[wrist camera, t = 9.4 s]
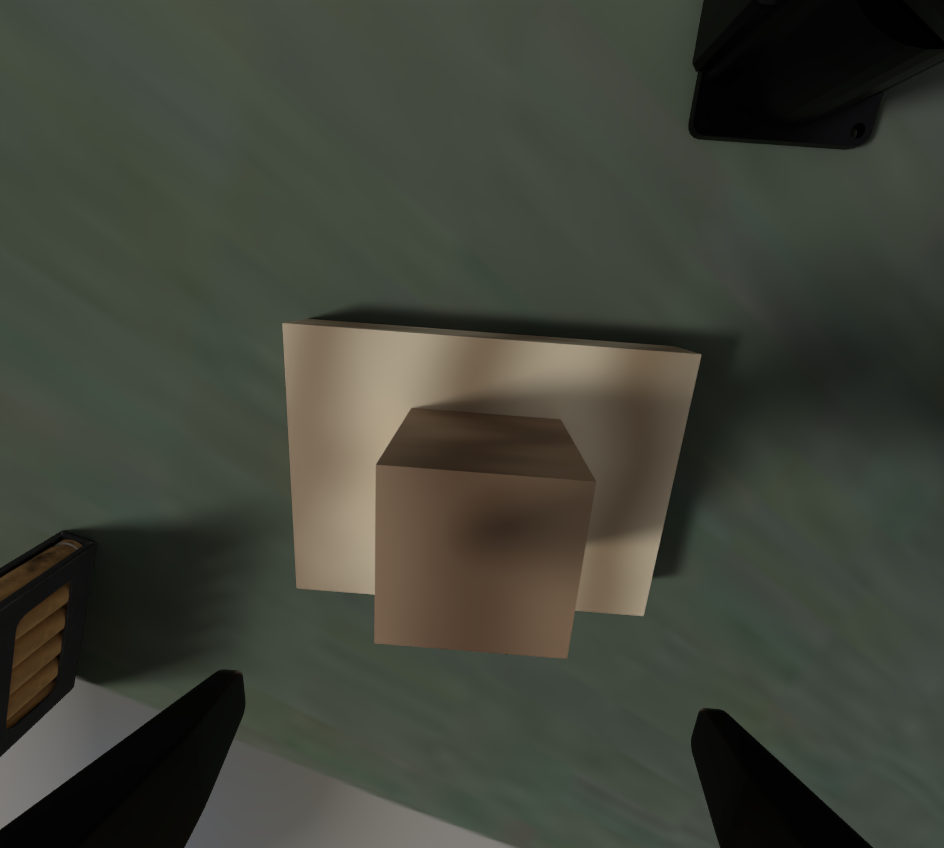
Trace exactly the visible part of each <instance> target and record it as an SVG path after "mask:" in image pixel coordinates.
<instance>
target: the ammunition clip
mask: <svg viewBox="0 0 944 848" xmlns="http://www.w3.org/2000/svg"><path fill="white" fill-rule="evenodd" d="M96 546H97V543H94V542H92V541H89V540H86V539H83V538H80V537H77V536H74V535H71V534H68V533H66V532H63V531H61V532H59V533H57V534H56V535H54V536H52V537H51V538H49V539H47V540H46V541H44V542H43V543H41V544H39V545H38V546H36V547H34V548H33V549H31V550H29V551H28V552H26V553H24V554H23V555H21V556H19V557H18V558H16V559H14V560H13V561H11V562H9V563H8V564H6V565H5V566H3V567H1V568H0V757H1V756H2V755H3V754H4V753H5V752H6V751H7V750H8V749H9V748H10V747H11V746H12V745H13V744H14V743H16V742H17V741H18V740H19V739H20V738H21V737H22V736H23V735H24V734H25V733H26V732H27V731H28V730H29V729H30V728H31V727H32V726H33V725H35V723H37V722H38V721H39V720H40V719H41V718H42V717H43V716H44V715H45V714H46V713H47V712H48V711H49V710H51V709H52V708H53V706H54V705H56V704H57V703H58V702H59V701H60V700H61V699H62V698H63V697H64V696H65V695H66V694H67V693H69V692H70V691H71V690H72V688H73V687H74V683H75V676H76V669H77V663H78V657H79V651H80V645H81V638H82V632H83V626H84V620H85V614H86V608H87V601H88V595H89V589H90V583H91V577H92V570H93V564H94V558H95V552H96Z"/></svg>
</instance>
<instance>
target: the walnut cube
mask: <svg viewBox="0 0 944 848" xmlns="http://www.w3.org/2000/svg"><path fill="white" fill-rule="evenodd" d="M595 487H596V480H595V478H594V477H593V475H592V473H591V471H590V470H589V468H588V466H587V464H586V463H585V461H584V459H583V457H582V456H581V454H580V452H579V450H578V449H577V447H576V445H575V443H574V442H573V440H572V438H571V436H570V435H569V433H568V431H567V429H566V428H565V426H564V424H563V422H562V421H561V419H550V418H537V417H524V416H511V415H497V414H484V413H471V412H458V411H445V410H432V409H418V408H411V409H410V411H409V412H408V414H407V416H406V417H405V419H404V420H403V422H402V424H401V425H400V427H399V428H398V430H397V432H396V433H395V435H394V436H393V438H392V440H391V441H390V443H389V444H388V446H387V448H386V449H385V451H384V452H383V454H382V456H381V457H380V459H379V460H378V462H377V463H376V500H375V640H374V643H378V644H390V645H403V646H415V647H427V648H440V649H452V650H465V651H477V652H489V653H502V654H514V655H526V656H539V657H551V658H564V659H567V655H568V649H569V643H570V637H571V631H572V625H573V619H574V613H575V607H576V601H577V595H578V589H579V583H580V577H581V571H582V565H583V559H584V553H585V547H586V541H587V535H588V529H589V523H590V517H591V511H592V505H593V499H594V493H595Z"/></svg>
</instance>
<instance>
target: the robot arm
mask: <svg viewBox="0 0 944 848" xmlns="http://www.w3.org/2000/svg"><path fill="white" fill-rule="evenodd" d="M942 62H944V0H704V2H703V7H702V13H701V18H700V24H699V29H698V35H697V40H696V46H695V51H694V57H693V66H694V68H695V70H696V72H698V75H697V80H696V86H695V91H694V97H693V102H692V107H691V113H690V118H689V132H690V134H691V135H692V136H693V137H694V138H697V139H703V140H717V141H731V142H745V143H760V144H774V145H788V146H802V147H816V148H830V149H845V150H846V149H851V148H854V147H857V146H859V145H861V144H863V143H865V141H866V140H867V139H868V138H869V137H870V135H871V132H872V129H873V126H874V123H875V119H876V116H877V112H878V109H879V105H880V102H881V99H882V95H883V92H884V91H886V90H888V89H890V88H892V87H894V86H896V85H898V84H900V83H902V82H904V81H906V80H908V79H910V78H912V77H914V76H916V75H918V74H920V73H922V72H924V71H926V70H928V69H930V68H932V67H934V66H936V65H938V64H940V63H942ZM701 116H705V117H707V118H708V120H709V125H708V128H704V127H702V126H701V124H700V118H701ZM852 127H855V129H856V130H857V135H856V137H855V138H853V137H852V136H851V129H852ZM244 710H245V691H244V681H243V675H242V673H241V672H240V671H238V670H225V669H223V670H219V671H217V672H215V673H214V674H212V675H211V676H210V677H208V678H207V679H206V680H204V681H203V682H202V683H200V684H199V685H197V686H196V687H195V688H193V689H192V690H191V691H189V692H188V693H186V694H185V695H184V696H182V697H181V698H180V699H178V700H177V701H176V702H174V703H173V704H171V705H170V706H169V707H167V708H166V709H165V710H163V711H162V712H161V713H159V714H158V715H156V716H155V717H154V718H152V719H151V720H150V721H148V722H147V723H145V724H144V725H143V726H141V727H140V728H139V729H137V730H136V731H135V732H133V733H132V734H130V735H129V736H128V737H127V738H125V739H124V740H123V741H121V742H119V743H118V744H117V745H116V746H114V747H113V748H111V749H110V750H109V751H107V752H106V753H104V754H103V755H102V756H100V757H99V758H98V759H97V760H95V761H94V762H92V763H91V764H90V765H88V766H87V767H85V768H84V769H83V770H81V771H80V772H78V773H77V774H76V775H75V776H73V777H72V778H70V779H69V780H68V781H66V782H65V783H64V784H62V785H61V786H59V787H58V788H57V789H55V790H54V791H53V792H51V793H50V794H49V795H47V796H46V797H44V798H43V799H42V800H40V801H39V802H38V803H36V804H35V805H33V806H32V807H31V808H29V809H28V810H27V811H25V812H24V813H22V814H21V815H20V816H19V817H17V818H16V819H14V820H13V821H11V822H10V823H9V824H8V825H6V826H5V827H3V828H2V829H1V830H0V848H184V847H185V845H186V843H187V841H188V840H189V838H190V836H191V834H192V832H193V830H194V828H195V826H196V824H197V822H198V820H199V818H200V816H201V814H202V812H203V810H204V808H205V806H206V803H207V801H208V799H209V796H210V794H211V792H212V789H213V787H214V785H215V782H216V780H217V777H218V775H219V773H220V770H221V768H222V765H223V763H224V760H225V758H226V756H227V753H228V751H229V748H230V746H231V743H232V741H233V739H234V736H235V734H236V731H237V729H238V727H239V724H240V722H241V719H242V717H243V714H244ZM691 749H692V754H693V757H694V761H695V764H696V768H697V771H698V774H699V778H700V781H701V785H702V788H703V792H704V795H705V799H706V802H707V805H708V809H709V812H710V816H711V819H712V823H713V826H714V830H715V833H716V836H717V839H718V843H719V846H720V848H873V847H872V846H871V845H870V844H869V843H867V842H866V841H865V840H864V839H863V838H862V837H861V836H860V835H859V834H858V833H857V832H856V831H854V830H853V829H852V828H851V827H850V826H849V825H848V824H847V823H846V822H845V821H844V820H843V819H841V818H840V817H839V816H838V815H837V814H836V813H835V812H834V811H833V810H832V809H831V808H830V807H828V806H827V805H826V804H825V803H824V802H823V801H822V800H821V799H820V798H819V797H818V796H817V795H815V794H814V793H813V792H812V791H811V790H810V789H809V788H808V787H807V786H806V785H805V784H803V783H802V782H801V781H800V780H799V779H798V778H797V777H796V776H795V775H794V774H793V773H792V772H790V771H789V770H788V769H787V768H786V767H785V766H784V765H783V764H782V763H781V762H780V761H779V760H777V759H776V758H775V757H774V756H773V755H772V754H771V753H770V752H769V751H768V750H767V749H766V748H764V747H763V746H762V745H761V744H760V743H759V742H758V741H757V740H756V739H755V738H754V737H753V736H751V735H750V734H749V733H748V732H747V731H746V730H745V729H744V728H743V727H742V726H741V725H740V724H738V723H737V722H736V721H735V720H734V719H733V718H732V717H731V716H730V715H729V714H727V713H726V712H725V711H723V710H720V709H710V708H702V709H701V710H700V711H699V713H698V716H697V720H696V723H695V727H694V730H693V734H692V738H691Z"/></svg>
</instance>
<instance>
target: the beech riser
mask: <svg viewBox="0 0 944 848" xmlns="http://www.w3.org/2000/svg"><path fill="white" fill-rule="evenodd" d="M283 342H284V360H285V379H286V398H287V416H288V435H289V454H290V473H291V491H292V510H293V529H294V547H295V566H296V585H297V588H299V589H312V590H324V591H337V592H349V593H362V594H374V595H375V500H376V463H377V462H378V460H379V459H380V457H381V456H382V454H383V452H384V451H385V449H386V448H387V446H388V444H389V443H390V441H391V440H392V438H393V436H394V435H395V433H396V432H397V430H398V428H399V427H400V425H401V424H402V422H403V420H404V419H405V417H406V416H407V414H408V412H409V411H410V409H411V408H418V409H432V410H445V411H458V412H471V413H484V414H497V415H511V416H524V417H537V418H550V419H561V421H562V422H563V424H564V426H565V428H566V429H567V431H568V433H569V435H570V436H571V438H572V440H573V442H574V443H575V445H576V447H577V449H578V450H579V452H580V454H581V456H582V457H583V459H584V461H585V463H586V464H587V466H588V468H589V470H590V471H591V473H592V475H593V477H594V478H595V480H596V487H595V493H594V499H593V505H592V511H591V517H590V523H589V529H588V535H587V541H586V547H585V553H584V559H583V565H582V571H581V577H580V583H579V589H578V595H577V601H576V607H575V611H587V612H599V613H612V614H624V615H637V616H644V612H645V607H646V603H647V598H648V594H649V589H650V585H651V580H652V576H653V571H654V567H655V562H656V558H657V553H658V549H659V544H660V540H661V535H662V531H663V526H664V522H665V517H666V513H667V508H668V504H669V499H670V495H671V490H672V486H673V481H674V477H675V472H676V468H677V463H678V459H679V454H680V450H681V445H682V441H683V436H684V432H685V427H686V423H687V418H688V413H689V409H690V404H691V400H692V395H693V391H694V386H695V382H696V377H697V373H698V368H699V364H700V359H701V355H702V354H699V353H695V352H692V351H689V350H686V349H682V348H679V347H676V346H665V345H652V344H639V343H625V342H612V341H599V340H585V339H572V338H558V337H545V336H532V335H518V334H505V333H491V332H478V331H465V330H451V329H438V328H425V327H411V326H398V325H384V324H371V323H358V322H344V321H331V320H317V319H303V320H297V321H291V322H286V323H283Z"/></svg>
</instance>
